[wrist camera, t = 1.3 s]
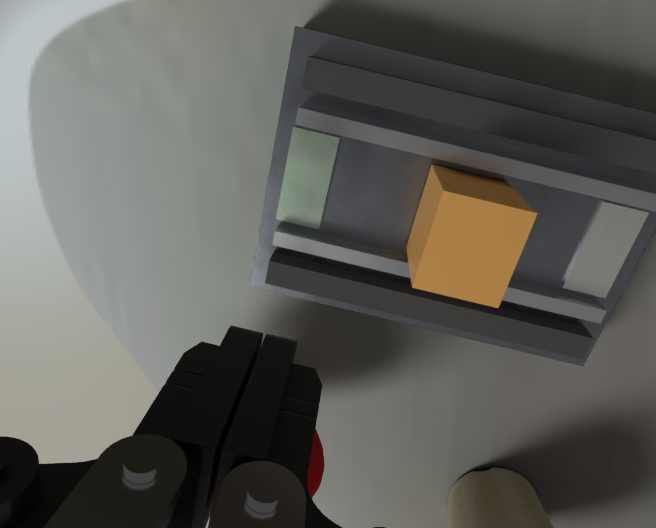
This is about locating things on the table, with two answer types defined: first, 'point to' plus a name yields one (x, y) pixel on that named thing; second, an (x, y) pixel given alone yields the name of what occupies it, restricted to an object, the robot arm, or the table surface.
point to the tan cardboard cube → (467, 236)
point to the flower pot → (495, 501)
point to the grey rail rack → (476, 117)
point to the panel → (458, 154)
